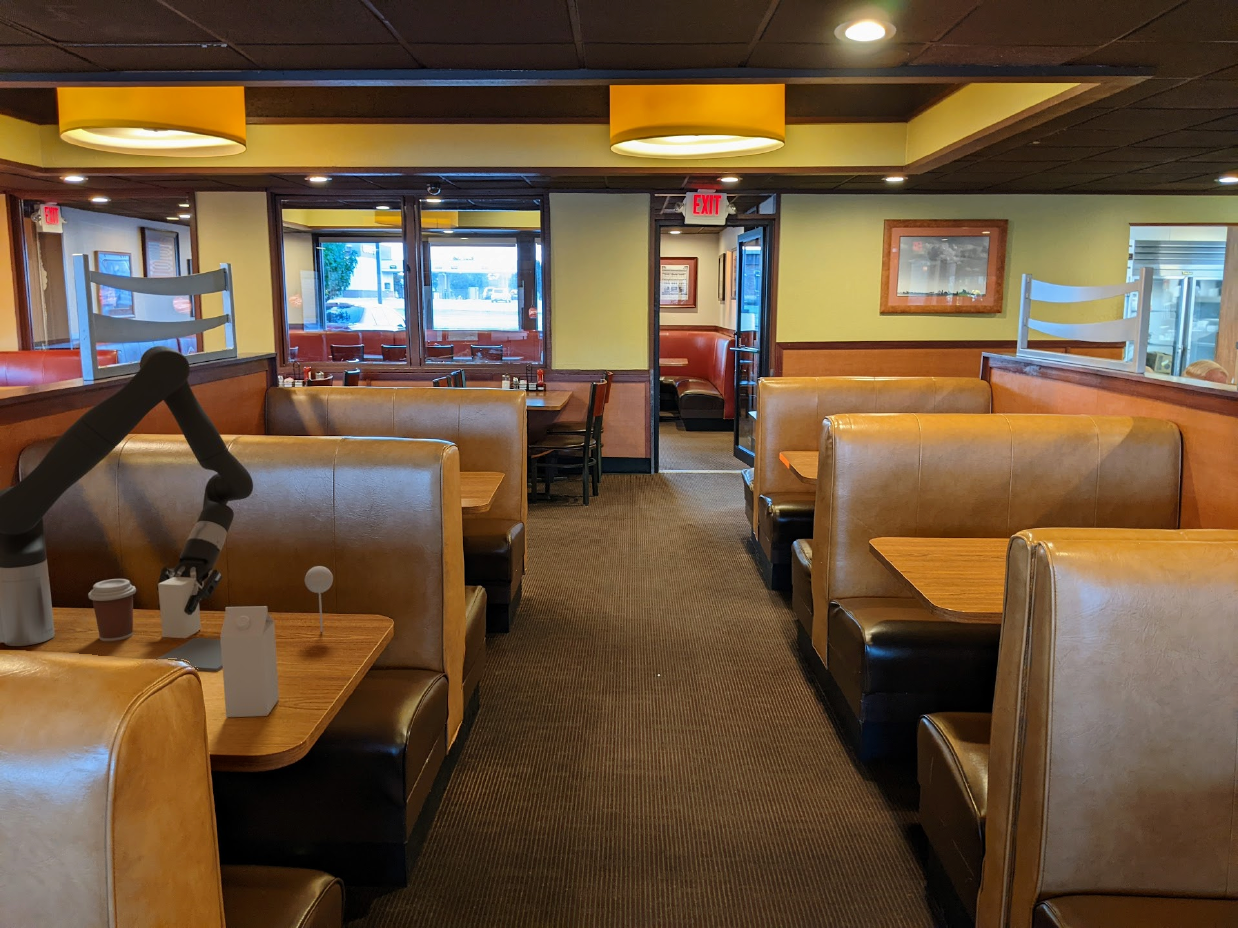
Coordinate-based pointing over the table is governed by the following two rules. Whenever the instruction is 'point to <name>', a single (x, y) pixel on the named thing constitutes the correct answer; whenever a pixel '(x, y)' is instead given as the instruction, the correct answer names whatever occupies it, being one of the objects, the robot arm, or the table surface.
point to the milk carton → (249, 661)
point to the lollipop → (319, 583)
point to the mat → (199, 654)
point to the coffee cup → (113, 608)
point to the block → (177, 608)
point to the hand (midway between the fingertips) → (175, 612)
